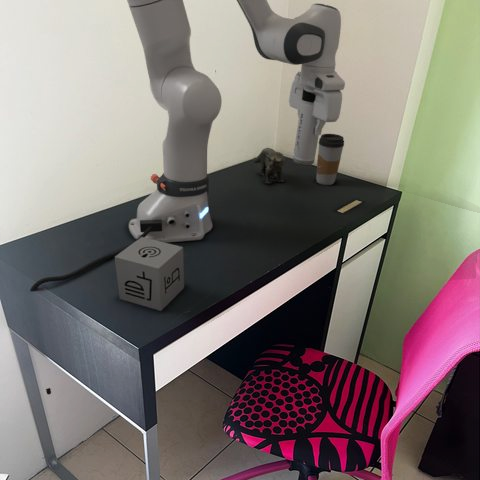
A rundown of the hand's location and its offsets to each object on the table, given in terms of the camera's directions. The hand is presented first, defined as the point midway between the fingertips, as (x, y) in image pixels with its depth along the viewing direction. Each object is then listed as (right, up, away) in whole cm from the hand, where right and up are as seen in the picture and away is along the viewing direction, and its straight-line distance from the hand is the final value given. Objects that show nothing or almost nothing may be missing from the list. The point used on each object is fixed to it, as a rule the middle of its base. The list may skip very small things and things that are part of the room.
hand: (309, 131), depth 136 cm
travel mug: (-1, -7, +5) cm, 9 cm away
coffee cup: (+10, -6, +29) cm, 31 cm away
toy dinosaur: (-10, -5, +29) cm, 31 cm away
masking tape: (+14, -18, +12) cm, 26 cm away
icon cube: (-39, -48, -32) cm, 69 cm away
